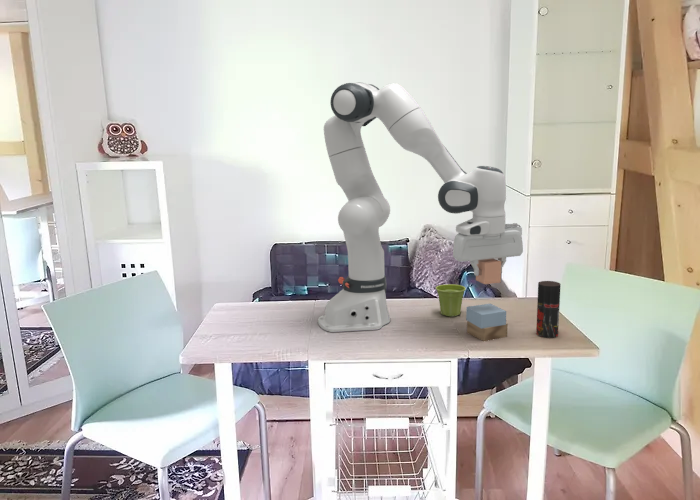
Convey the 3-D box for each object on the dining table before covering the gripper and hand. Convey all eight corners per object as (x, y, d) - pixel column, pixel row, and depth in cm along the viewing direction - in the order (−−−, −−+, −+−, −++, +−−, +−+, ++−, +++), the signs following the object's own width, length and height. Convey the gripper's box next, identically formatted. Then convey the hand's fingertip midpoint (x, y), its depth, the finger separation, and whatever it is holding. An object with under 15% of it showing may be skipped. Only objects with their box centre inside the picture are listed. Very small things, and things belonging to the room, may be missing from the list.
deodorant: (559, 338, 164) (562, 286, 161) (537, 337, 165) (539, 286, 162) (556, 331, 169) (559, 281, 166) (535, 330, 171) (537, 280, 168)
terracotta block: (484, 284, 162) (484, 263, 161) (475, 280, 167) (476, 259, 166) (500, 282, 163) (501, 261, 162) (491, 278, 168) (491, 258, 167)
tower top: (481, 328, 162) (481, 314, 162) (466, 320, 170) (466, 306, 169) (505, 324, 165) (506, 311, 164) (489, 316, 172) (490, 303, 172)
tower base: (484, 342, 163) (484, 328, 162) (467, 333, 170) (467, 320, 169) (507, 337, 166) (507, 324, 166) (489, 329, 173) (489, 316, 173)
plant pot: (433, 310, 192) (433, 284, 191) (461, 309, 193) (462, 283, 191) (438, 319, 183) (438, 292, 181) (468, 317, 183) (468, 291, 182)
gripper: (515, 221, 168) (514, 268, 171) (450, 226, 162) (450, 275, 165) (528, 224, 162) (526, 272, 165) (461, 229, 156) (460, 280, 159)
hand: (488, 274), depth 165 cm, fingers closed on terracotta block, 5 cm apart
